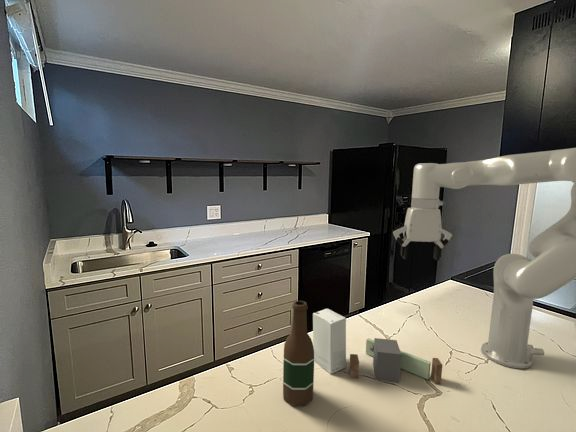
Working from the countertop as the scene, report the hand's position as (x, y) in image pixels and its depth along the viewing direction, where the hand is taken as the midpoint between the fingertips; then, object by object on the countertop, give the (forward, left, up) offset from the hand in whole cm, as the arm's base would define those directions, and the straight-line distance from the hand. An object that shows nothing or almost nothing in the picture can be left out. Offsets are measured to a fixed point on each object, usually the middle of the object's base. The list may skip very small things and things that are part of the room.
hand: (420, 258), depth 96 cm
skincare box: (+28, +14, -28) cm, 42 cm away
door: (+9, +13, -28) cm, 32 cm away
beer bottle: (+36, +28, -28) cm, 54 cm away
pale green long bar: (+11, +18, -28) cm, 35 cm away
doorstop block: (+12, +16, -28) cm, 35 cm away
